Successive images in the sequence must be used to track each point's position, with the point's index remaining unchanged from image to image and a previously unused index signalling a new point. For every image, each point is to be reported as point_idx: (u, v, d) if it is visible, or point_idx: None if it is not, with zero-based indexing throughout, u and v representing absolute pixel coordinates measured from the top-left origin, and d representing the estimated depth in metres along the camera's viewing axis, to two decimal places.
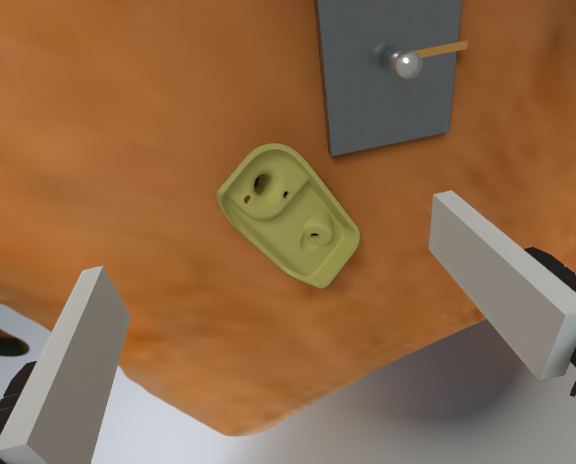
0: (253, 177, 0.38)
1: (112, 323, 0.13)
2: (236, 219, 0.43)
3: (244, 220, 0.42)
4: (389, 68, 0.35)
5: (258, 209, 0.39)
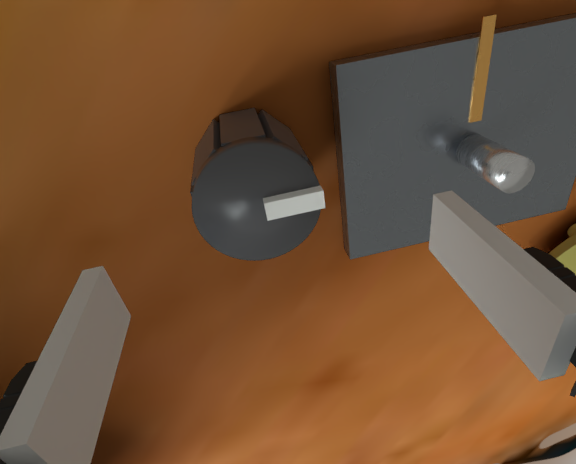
0: None
1: (112, 323, 0.13)
2: None
3: None
4: None
5: None
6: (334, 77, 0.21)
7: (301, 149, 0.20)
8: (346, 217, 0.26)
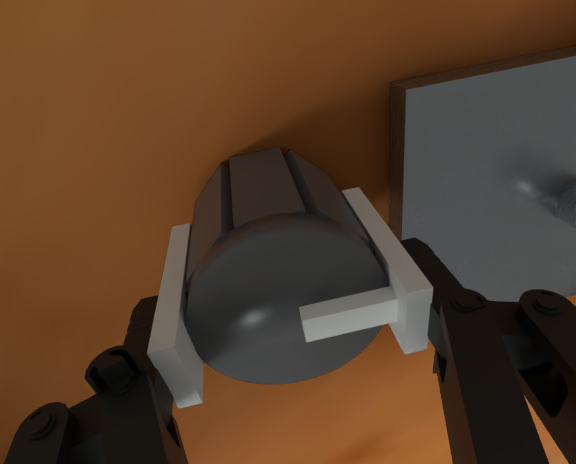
0: None
1: None
2: None
3: None
4: None
5: None
6: (399, 106, 0.14)
7: (354, 219, 0.13)
8: None
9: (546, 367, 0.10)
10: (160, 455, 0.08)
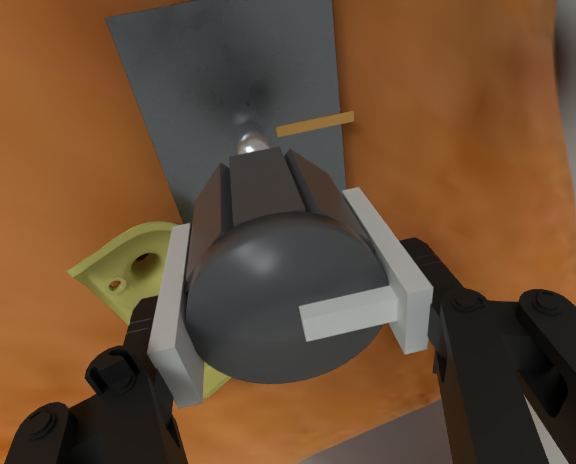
0: (131, 258, 0.28)
1: None
2: (105, 294, 0.32)
3: (112, 301, 0.31)
4: None
5: (129, 298, 0.29)
6: None
7: (354, 218, 0.13)
8: (166, 6, 0.22)
9: (546, 367, 0.10)
10: (160, 455, 0.08)
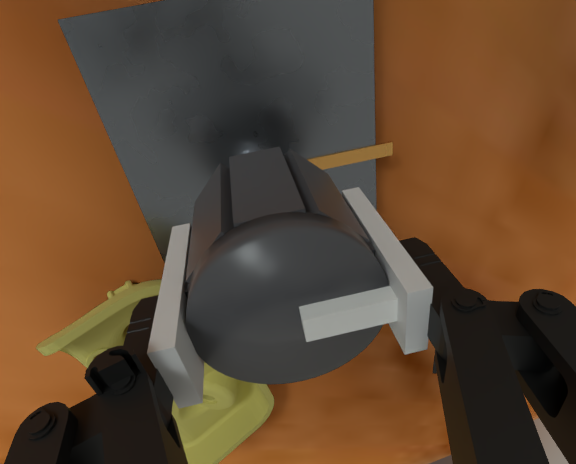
0: (124, 324, 0.21)
1: None
2: None
3: None
4: None
5: None
6: None
7: (354, 218, 0.13)
8: (145, 4, 0.16)
9: (546, 367, 0.10)
10: (160, 455, 0.08)
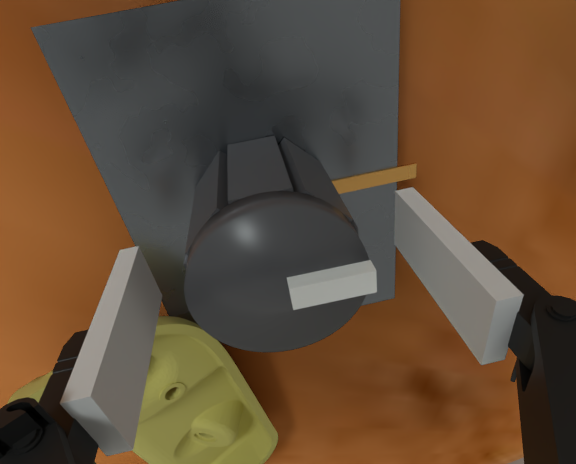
0: None
1: (148, 300, 0.14)
2: None
3: None
4: None
5: None
6: None
7: (340, 200, 0.14)
8: (134, 9, 0.14)
9: None
10: None
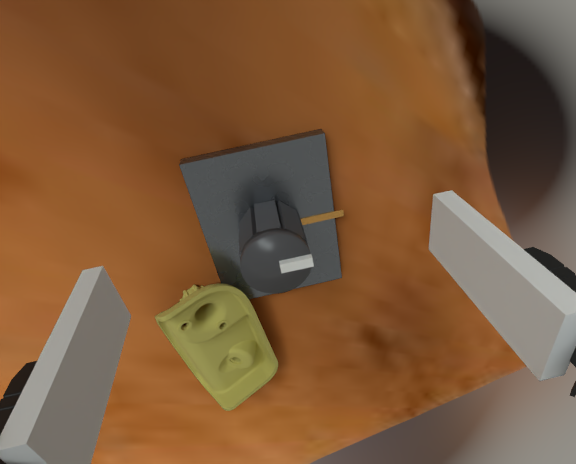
0: (197, 307, 0.39)
1: (112, 323, 0.13)
2: (167, 328, 0.44)
3: (174, 335, 0.42)
4: None
5: (191, 335, 0.40)
6: (315, 133, 0.35)
7: (301, 230, 0.35)
8: (218, 155, 0.34)
9: None
10: None
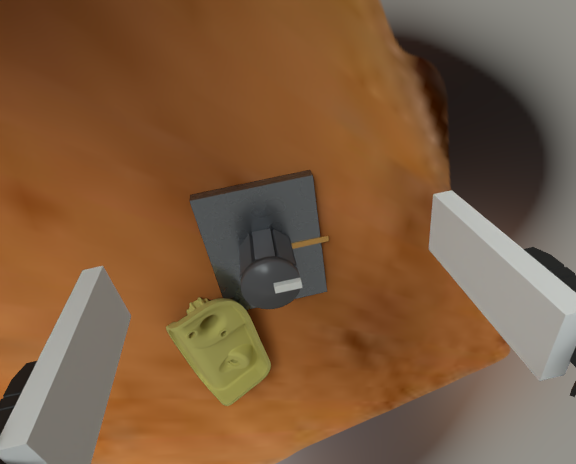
0: (203, 319, 0.46)
1: (112, 323, 0.13)
2: (175, 335, 0.50)
3: (182, 341, 0.49)
4: None
5: (197, 342, 0.47)
6: (305, 174, 0.41)
7: (292, 256, 0.41)
8: (222, 193, 0.40)
9: None
10: None
